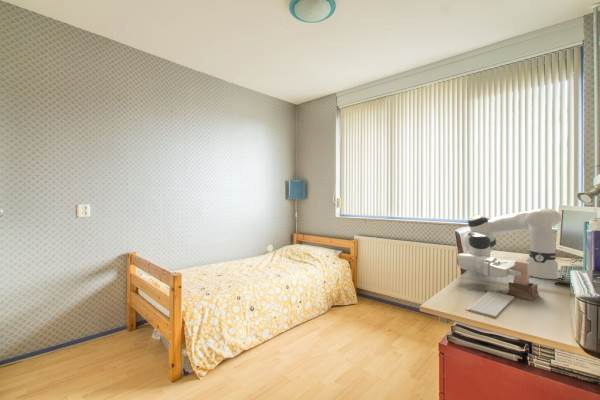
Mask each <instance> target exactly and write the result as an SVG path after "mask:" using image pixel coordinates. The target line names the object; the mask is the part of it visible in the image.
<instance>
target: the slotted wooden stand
mask: <svg viewBox="0 0 600 400" xmlns="http://www.w3.org/2000/svg"><path fill="white" fill-rule="evenodd" d="M507 293H508V294H507ZM513 294H514V295H513ZM506 295H509V296H514V299H515V298H517V299H520V300H524V301H528V302H531V301H533V300H534V299H535V298H536V297H537V296H539V291H538V283H533V282H530V283H529V286H525V285H520V284H516V283H514V280H513V282H510V281H509V282H508V291H507V292H506Z"/></svg>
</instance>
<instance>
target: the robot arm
mask: <svg viewBox="0 0 600 400" xmlns="http://www.w3.org/2000/svg"><path fill="white" fill-rule="evenodd" d="M561 221H562V215H561V213H560V212H558V210H555V209H553V208H535V209H532V210H529V211H522V212H517V213H516V212H515V213H509V214H505V215H500V216H496V217H492V218H491V219H490V218H489V217H486V216H483V215H475V216H472V217H471V218H470V219H468V220H467V224H468V227H469V228H470V231H466V232H464V233H465V234H464V233H463V234H464V236H463V239H462V238H461V239H462V240H461V245H462V247H463V249H464V250H465V251H466V252H468V253H466V252H465V253H464V252H463V253H458V255H457V257H456V263H457V264H456V265H457V266H458V268H459V269H463V270H466V271H470V272H475V273H476V272H478V273H481V274H483V275H484V276H488V277H489V276H492V277H493V276H494V277H499V278H503V277H504V278H505V277H508V276H514V275H518V276H521V275H522V272H521V271H514V267H515V261H514V262H513V261H504V260H498V258H496V257H493V256H492V257H491V248H494V247H495V246H496V244H497V239H496V237H495V235H494V234H508V233H515V232H524V231H529V236H530V244H529V245H530V247H529V248H530V249H529V252H528V256H529V257H528V258H526V259H525V262H530V277H534V278H539V279H545V280H559V279H558V278H559V272H561V270H560V269H559V263H558V262H557V253H556V238H555V236H554V231H553V228H554V227H555V226H557V225H558V224H560V222H561Z"/></svg>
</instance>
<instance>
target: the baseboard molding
mask: <svg viewBox="0 0 600 400" xmlns="http://www.w3.org/2000/svg"><path fill="white" fill-rule="evenodd" d="M497 291H498V292H499V293H498V292H496V291H495V290H493V289H492V291H490V292H489V291H488V289H486V290H485V293H484V294H483V295H482V296H480V297H479V298H478V299H477V300H475V301H474V302H473V303H471V304H470V305H469V306H468V307H466V309H465V311H468V312H471V313H475V314H478V315H480V316H481V315H482V316H485V317H488V318H491V319H492V318H493V319H496V318H497V317H498V316H499V314H501V313H502V312H503V310H504V309H506V308H507V306H508V305H509V304H510V303H511V302H512V301H513V299H515V297H514V296H509V295H507V294H508V293H507V292H506V293H504V294H502V293H503V290H497ZM513 295H514V294H513Z"/></svg>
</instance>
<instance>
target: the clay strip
mask: <svg viewBox="0 0 600 400" xmlns="http://www.w3.org/2000/svg"><path fill="white" fill-rule="evenodd" d="M514 263H515V267H514V271H521V272H522V275H521V276H518V275H513V276H514V277H513V281H514V283H516V284H520V285H525V286H529V283H531V282H530V280H531V279H530V278H531V276H530V262H526V261H521V260H515V261H514Z"/></svg>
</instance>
